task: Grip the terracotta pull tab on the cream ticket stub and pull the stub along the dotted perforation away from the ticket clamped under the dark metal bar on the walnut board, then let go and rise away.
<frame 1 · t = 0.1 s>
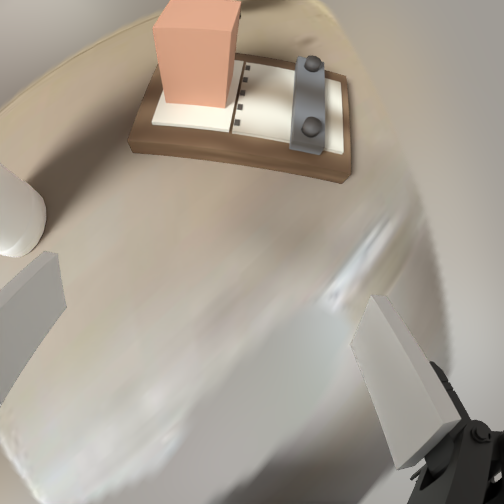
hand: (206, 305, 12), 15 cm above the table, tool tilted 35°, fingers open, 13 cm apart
stub: (199, 55, 23), point 8 cm above the table, slide at 0.0 cm
bottle: (21, 223, 26), on the table
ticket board: (246, 110, 31), on the table
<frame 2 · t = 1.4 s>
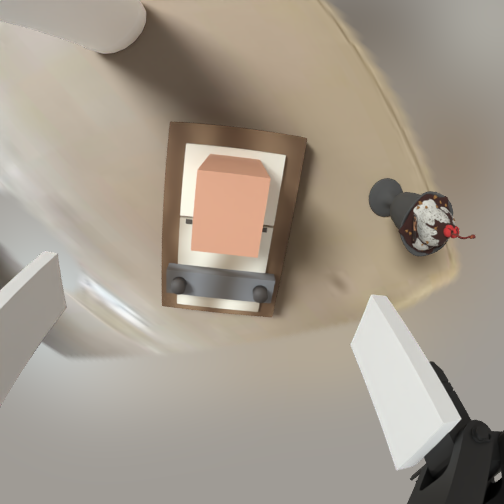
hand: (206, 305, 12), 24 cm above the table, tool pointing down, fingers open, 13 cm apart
stub: (230, 196, 26), point 8 cm above the table, slide at 0.0 cm
sundae: (385, 196, 35), on the table
bottle: (116, 25, 24), on the table
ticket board: (226, 222, 35), on the table
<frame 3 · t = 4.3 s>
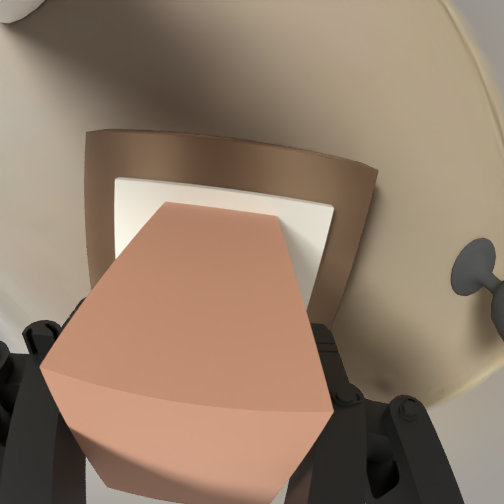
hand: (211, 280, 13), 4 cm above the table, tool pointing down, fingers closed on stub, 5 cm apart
stub: (201, 332, 10), point 8 cm above the table, slide at 0.0 cm, touching gripper
sundae: (472, 265, 19), on the table
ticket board: (210, 315, 19), on the table
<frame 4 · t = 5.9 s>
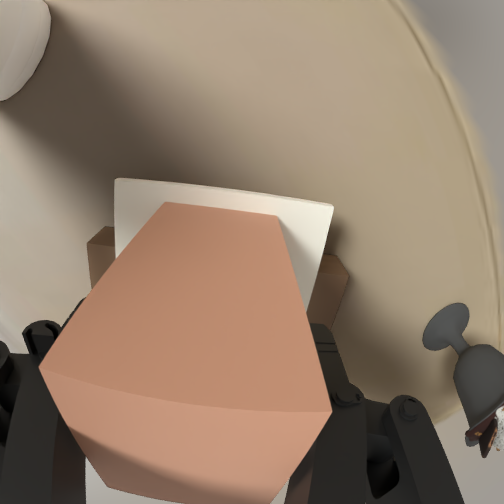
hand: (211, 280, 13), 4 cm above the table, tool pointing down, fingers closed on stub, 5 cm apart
stub: (201, 332, 10), point 8 cm above the table, slide at 5.8 cm, touching gripper
sundae: (445, 325, 21), on the table
bottle: (11, 48, 11), on the table
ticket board: (206, 373, 22), on the table
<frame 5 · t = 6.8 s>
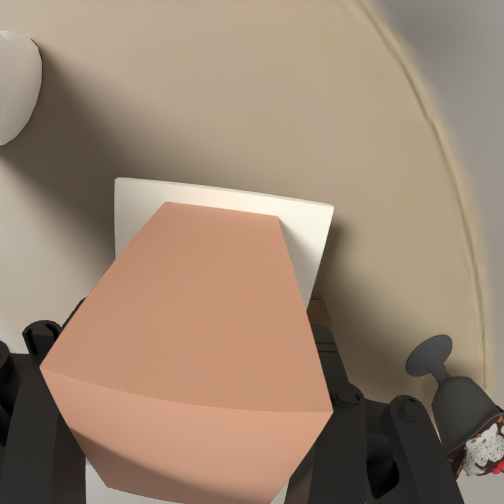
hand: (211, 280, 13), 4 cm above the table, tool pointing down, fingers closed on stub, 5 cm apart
stub: (201, 332, 10), point 8 cm above the table, slide at 8.9 cm, touching gripper
sundae: (429, 354, 22), on the table
bottle: (5, 89, 12), on the table
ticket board: (203, 397, 23), on the table
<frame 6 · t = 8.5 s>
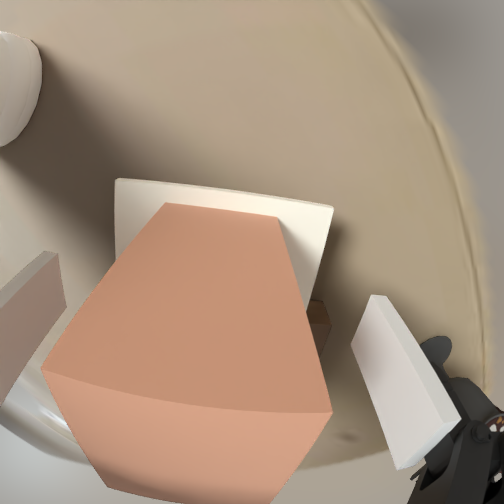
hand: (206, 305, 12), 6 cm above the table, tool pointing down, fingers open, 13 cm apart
stub: (201, 333, 10), point 8 cm above the table, slide at 9.0 cm
sundae: (428, 355, 22), on the table
bottle: (5, 90, 12), on the table
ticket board: (203, 397, 23), on the table
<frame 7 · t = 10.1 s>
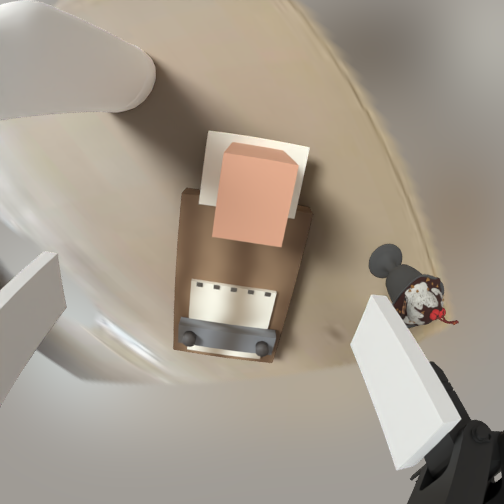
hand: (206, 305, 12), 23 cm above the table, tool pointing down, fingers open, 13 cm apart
stub: (253, 185, 25), point 8 cm above the table, slide at 9.0 cm
sundae: (385, 260, 37), on the table
bottle: (125, 79, 28), on the table
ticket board: (234, 281, 38), on the table
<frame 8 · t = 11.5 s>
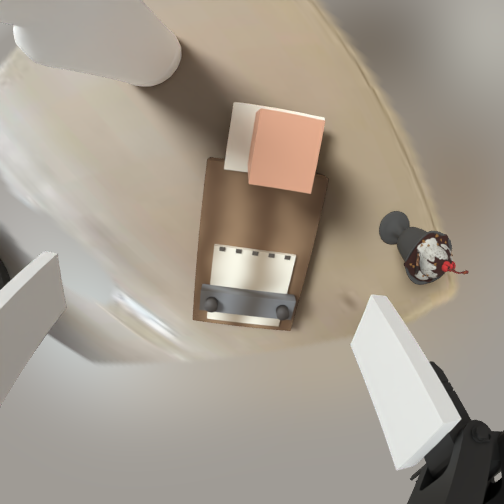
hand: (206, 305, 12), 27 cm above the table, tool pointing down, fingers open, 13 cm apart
stub: (279, 145, 27), point 8 cm above the table, slide at 9.0 cm
sundae: (394, 227, 39), on the table
bottle: (151, 57, 29), on the table
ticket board: (253, 248, 40), on the table
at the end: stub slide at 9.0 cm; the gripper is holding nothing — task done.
